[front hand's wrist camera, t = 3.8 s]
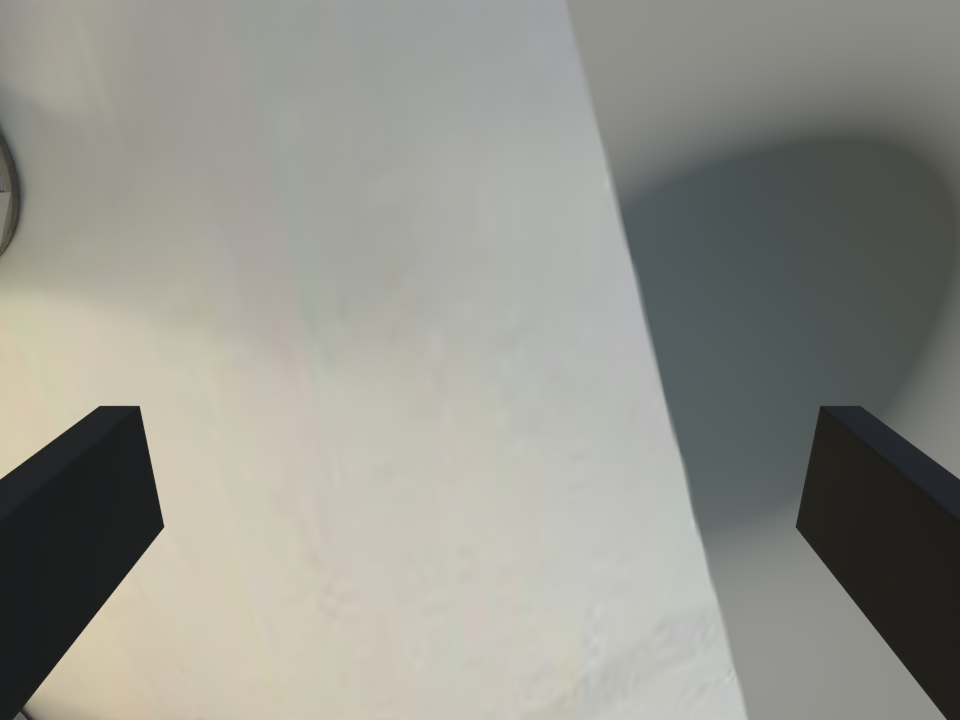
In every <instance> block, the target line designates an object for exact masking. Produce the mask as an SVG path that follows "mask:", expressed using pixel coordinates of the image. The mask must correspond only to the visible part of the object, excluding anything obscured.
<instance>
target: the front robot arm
mask: <svg viewBox="0 0 960 720" xmlns="http://www.w3.org/2000/svg"><path fill="white" fill-rule="evenodd" d="M18 211H19V187H18V180H17V175H16V171H15V167H14V163H13V160H12V157H11V154H10V152H9V149H8V147H7V145H6V143H5V140H4V138H3V136H2V135H1V133H0V255H1V254H2V252H3V251H4V249H5V248H6V247H7V245H8V243H9V241H10V239H11V237H12V235H13V232H14V229H15V226H16V222H17V218H18ZM163 528H164V523H163V518H162V514H161V509H160V504H159V499H158V494H157V489H156V484H155V479H154V474H153V469H152V464H151V460H150V455H149V450H148V445H147V440H146V435H145V430H144V425H143V420H142V415H141V411H140V406H99V407H98V408H96V409H95V410H94V411H92V412H91V413H90V414H88V415H87V416H86V417H84V418H83V419H82V420H80V421H79V422H78V423H76V424H75V425H73V426H72V427H71V428H69V429H68V430H67V431H65V432H64V433H63V434H61V435H60V436H59V437H57V438H56V439H55V440H53V441H52V442H50V443H49V444H48V445H46V446H45V447H44V448H42V449H41V450H40V451H38V452H37V453H36V454H34V455H33V456H32V457H30V458H29V459H28V460H26V461H25V462H23V463H22V464H21V465H19V466H18V467H17V468H15V469H14V470H13V471H11V472H10V473H9V474H7V475H6V476H5V477H3V478H2V479H0V720H13V719H14V718H15V717H16V715H17V714H18V713H19V712H20V710H21V709H22V708H23V706H24V705H25V704H26V703H27V701H28V700H29V699H30V697H31V696H32V695H33V694H34V692H35V691H36V690H37V689H38V687H39V686H40V685H41V683H42V682H43V681H44V680H45V678H46V677H47V676H48V675H49V673H50V672H51V671H52V669H53V668H54V667H55V666H56V664H57V663H58V662H59V661H60V659H61V658H62V657H63V655H64V654H65V653H66V652H67V650H68V649H69V648H70V647H71V645H72V644H73V643H74V641H75V640H76V639H77V638H78V636H79V635H80V634H81V632H82V631H83V630H84V629H85V627H86V626H87V625H88V624H89V622H90V621H91V620H92V618H93V617H94V616H95V615H96V613H97V612H98V611H99V610H100V608H101V607H102V606H103V604H104V603H105V602H106V601H107V599H108V598H109V597H110V596H111V594H112V593H113V592H114V590H115V589H116V588H117V587H118V585H119V584H120V583H121V582H122V580H123V579H124V578H125V576H126V575H127V574H128V573H129V571H130V570H131V569H132V568H133V566H134V565H135V564H136V562H137V561H138V560H139V559H140V557H141V556H142V555H143V553H144V552H145V551H146V550H147V548H148V547H149V546H150V545H151V543H152V542H153V541H154V539H155V538H156V537H157V536H158V534H159V533H160V532H161V531H162V529H163ZM796 528H797V529H798V531H799V532H800V533H801V534H802V536H803V537H804V538H805V539H806V541H807V542H808V543H809V544H810V546H811V547H812V548H813V550H814V551H815V552H816V553H817V555H818V556H819V557H820V559H821V560H822V561H823V562H824V564H825V565H826V566H827V568H828V569H829V570H830V571H831V573H832V574H833V575H834V576H835V578H836V579H837V580H838V582H839V583H840V584H841V585H842V587H843V588H844V589H845V590H846V592H847V593H848V594H849V596H850V597H851V598H852V599H853V601H854V602H855V603H856V604H857V606H858V607H859V608H860V610H861V611H862V612H863V613H864V615H865V616H866V617H867V618H868V620H869V621H870V622H871V623H872V625H873V626H874V627H875V629H876V630H877V631H878V632H879V634H880V635H881V636H882V638H883V639H884V640H885V641H886V643H887V644H888V645H889V647H890V648H891V649H892V650H893V652H894V653H895V654H896V655H897V657H898V658H899V659H900V661H901V662H902V663H903V664H904V666H905V667H906V668H907V669H908V671H909V672H910V673H911V674H912V676H913V677H914V678H915V680H916V681H917V682H918V683H919V685H920V686H921V687H922V689H923V690H924V691H925V692H926V694H927V695H928V696H929V697H930V699H931V700H932V701H933V703H934V704H935V705H936V706H937V708H938V709H939V710H940V712H941V713H942V714H943V715H944V717H945V718H946V719H947V720H960V479H958V478H957V477H955V476H954V475H953V474H951V473H950V472H949V471H947V470H946V469H945V468H943V467H942V466H941V465H939V464H938V463H937V462H935V461H934V460H932V459H931V458H930V457H928V456H927V455H926V454H924V453H923V452H922V451H920V450H919V449H918V448H916V447H915V446H913V445H912V444H911V443H910V442H908V441H907V440H905V439H904V438H903V437H901V436H900V435H899V434H897V433H896V432H895V431H893V430H892V429H891V428H889V427H888V426H887V425H885V424H884V423H882V422H881V421H880V420H878V419H877V418H876V417H874V416H873V415H872V414H870V413H869V412H868V411H866V410H865V409H864V408H862V407H861V406H820V411H819V415H818V420H817V425H816V430H815V435H814V440H813V445H812V450H811V455H810V460H809V464H808V469H807V474H806V479H805V484H804V489H803V494H802V499H801V504H800V509H799V514H798V518H797V523H796Z"/></svg>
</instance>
